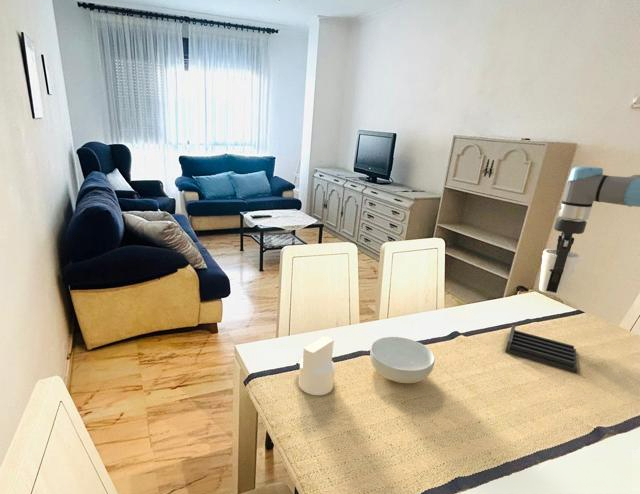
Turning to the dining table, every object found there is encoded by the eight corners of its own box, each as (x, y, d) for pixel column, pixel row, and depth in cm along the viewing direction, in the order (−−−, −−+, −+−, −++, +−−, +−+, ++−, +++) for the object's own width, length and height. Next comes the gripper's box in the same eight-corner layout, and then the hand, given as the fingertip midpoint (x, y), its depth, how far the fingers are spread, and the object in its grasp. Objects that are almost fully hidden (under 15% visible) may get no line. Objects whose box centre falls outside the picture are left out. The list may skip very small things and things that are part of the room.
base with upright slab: (319, 400, 94) (322, 358, 90) (291, 384, 100) (293, 343, 96) (339, 384, 101) (344, 344, 96) (312, 369, 106) (315, 331, 102)
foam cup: (538, 283, 132) (548, 247, 127) (570, 291, 125) (582, 254, 121) (530, 290, 125) (540, 252, 121) (563, 299, 119) (576, 259, 115)
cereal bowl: (381, 350, 117) (384, 330, 115) (437, 370, 108) (442, 348, 106) (357, 377, 104) (360, 354, 101) (419, 402, 95) (424, 378, 93)
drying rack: (574, 352, 120) (578, 341, 119) (576, 373, 110) (580, 361, 108) (509, 334, 130) (512, 324, 129) (505, 352, 119) (508, 341, 118)
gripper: (558, 212, 128) (540, 275, 135) (556, 222, 111) (535, 294, 118) (586, 215, 124) (565, 280, 131) (588, 226, 107) (565, 300, 114)
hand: (551, 286), depth 125 cm, fingers closed on foam cup, 9 cm apart
